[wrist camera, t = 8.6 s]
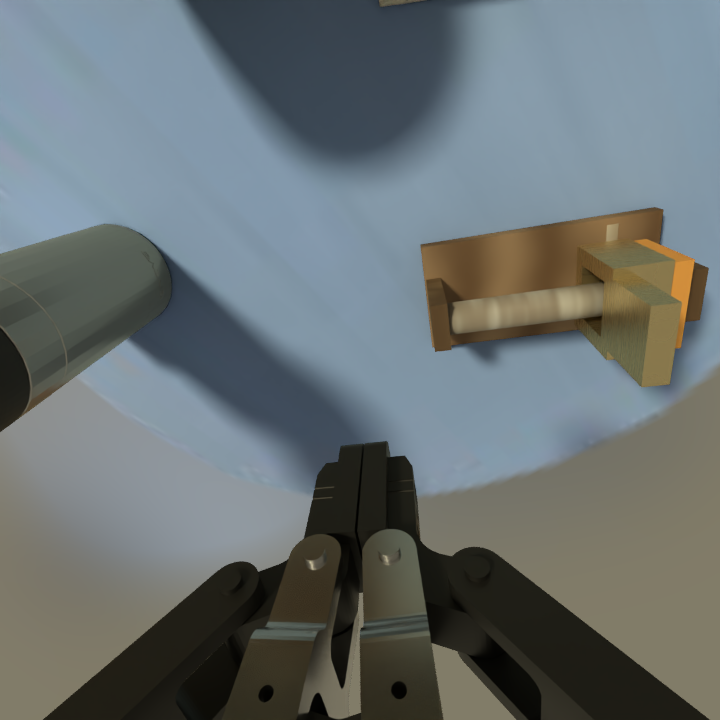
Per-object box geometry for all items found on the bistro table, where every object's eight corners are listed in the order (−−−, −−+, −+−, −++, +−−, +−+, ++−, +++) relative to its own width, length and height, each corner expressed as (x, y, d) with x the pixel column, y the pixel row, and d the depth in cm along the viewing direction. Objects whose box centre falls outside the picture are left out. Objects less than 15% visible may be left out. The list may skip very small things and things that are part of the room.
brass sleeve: (574, 324, 36) (640, 397, 26) (577, 245, 33) (652, 293, 23) (620, 318, 35) (706, 391, 25) (627, 238, 32) (727, 284, 22)
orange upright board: (621, 317, 35) (661, 350, 29) (628, 241, 32) (673, 262, 27) (638, 315, 35) (680, 347, 29) (646, 238, 32) (694, 259, 27)
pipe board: (431, 341, 40) (437, 383, 34) (420, 244, 37) (424, 269, 30) (642, 315, 38) (695, 355, 31) (655, 207, 34) (717, 225, 27)
